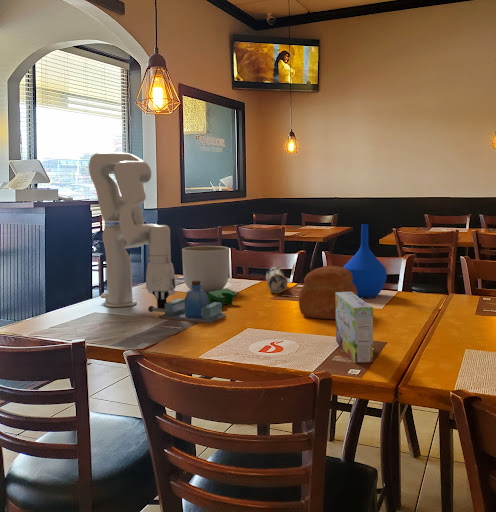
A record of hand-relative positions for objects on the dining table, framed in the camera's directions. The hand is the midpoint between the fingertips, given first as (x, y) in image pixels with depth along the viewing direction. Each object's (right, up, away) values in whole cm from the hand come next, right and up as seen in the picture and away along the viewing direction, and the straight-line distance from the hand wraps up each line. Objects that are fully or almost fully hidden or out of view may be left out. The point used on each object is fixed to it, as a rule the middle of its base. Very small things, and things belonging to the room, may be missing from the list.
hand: (162, 309), depth 204 cm
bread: (+61, -2, -1) cm, 61 cm away
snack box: (+60, -7, -49) cm, 78 cm away
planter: (+13, +4, +47) cm, 49 cm away
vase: (+80, +3, +31) cm, 86 cm away
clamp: (+21, 0, +14) cm, 26 cm away
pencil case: (+44, +4, +47) cm, 64 cm away
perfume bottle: (+13, -2, -5) cm, 14 cm away
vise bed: (+12, -2, -5) cm, 13 cm away
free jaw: (+2, -1, -1) cm, 2 cm away
